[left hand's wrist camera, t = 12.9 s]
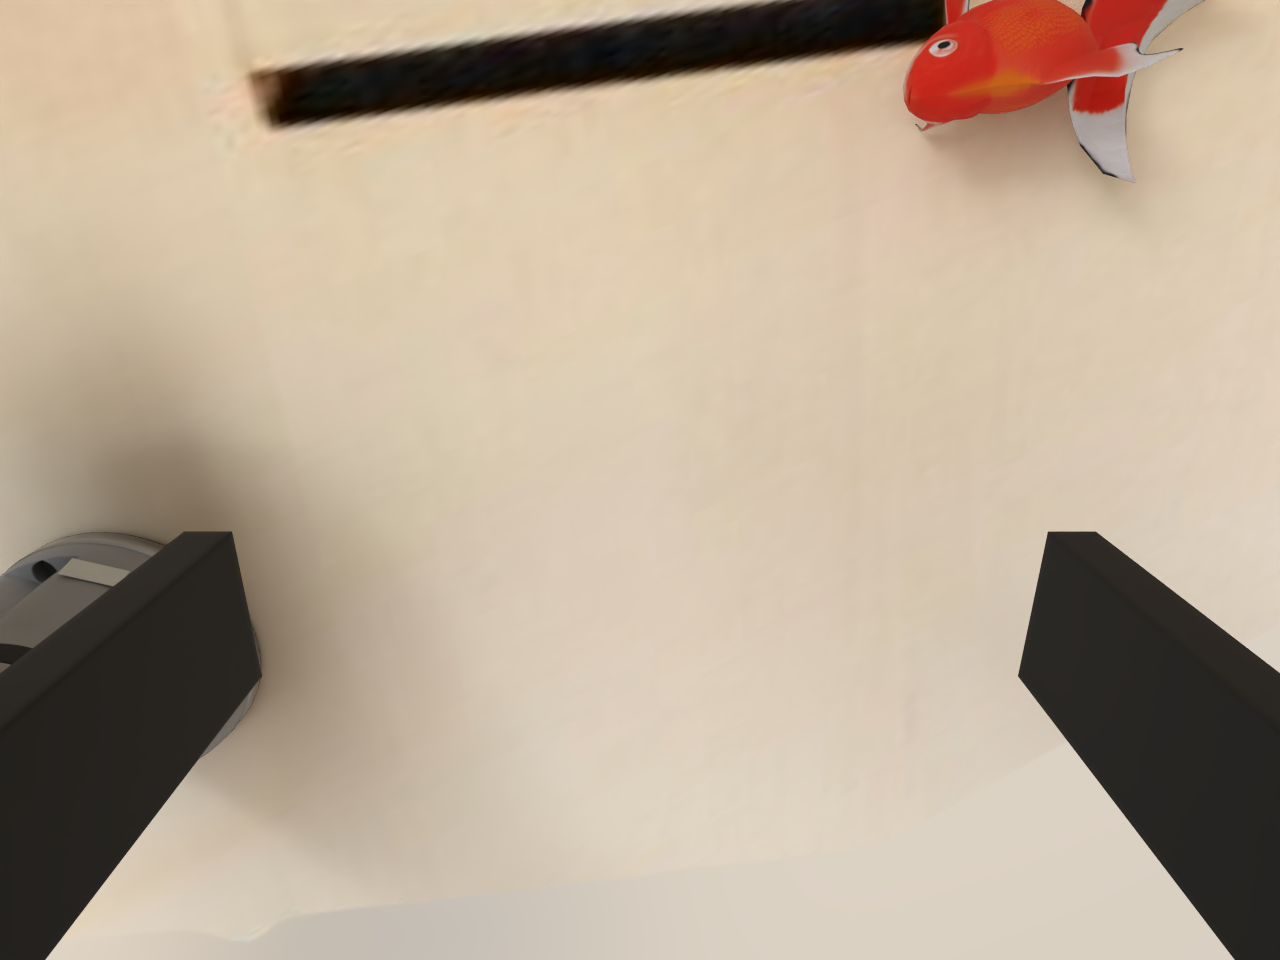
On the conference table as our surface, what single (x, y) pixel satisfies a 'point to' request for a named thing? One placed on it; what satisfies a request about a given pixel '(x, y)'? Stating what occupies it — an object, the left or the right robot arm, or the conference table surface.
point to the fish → (1042, 64)
